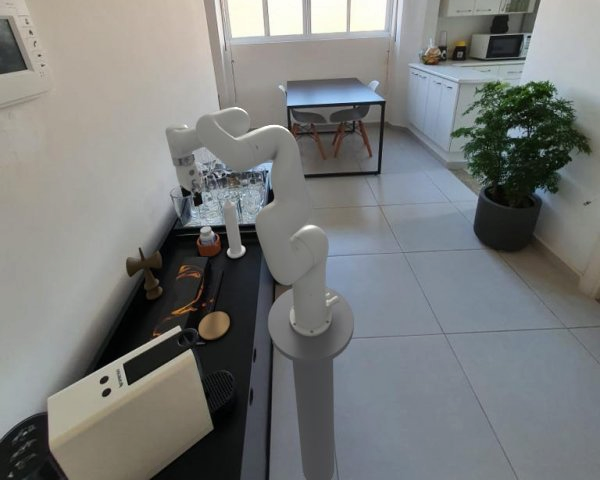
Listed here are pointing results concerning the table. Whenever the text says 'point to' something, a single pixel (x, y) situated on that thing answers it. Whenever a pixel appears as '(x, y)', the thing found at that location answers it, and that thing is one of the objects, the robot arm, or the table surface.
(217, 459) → the table surface
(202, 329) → the coaster
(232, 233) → the candle
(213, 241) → the pill bottle
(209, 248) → the pot
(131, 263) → the kendama
